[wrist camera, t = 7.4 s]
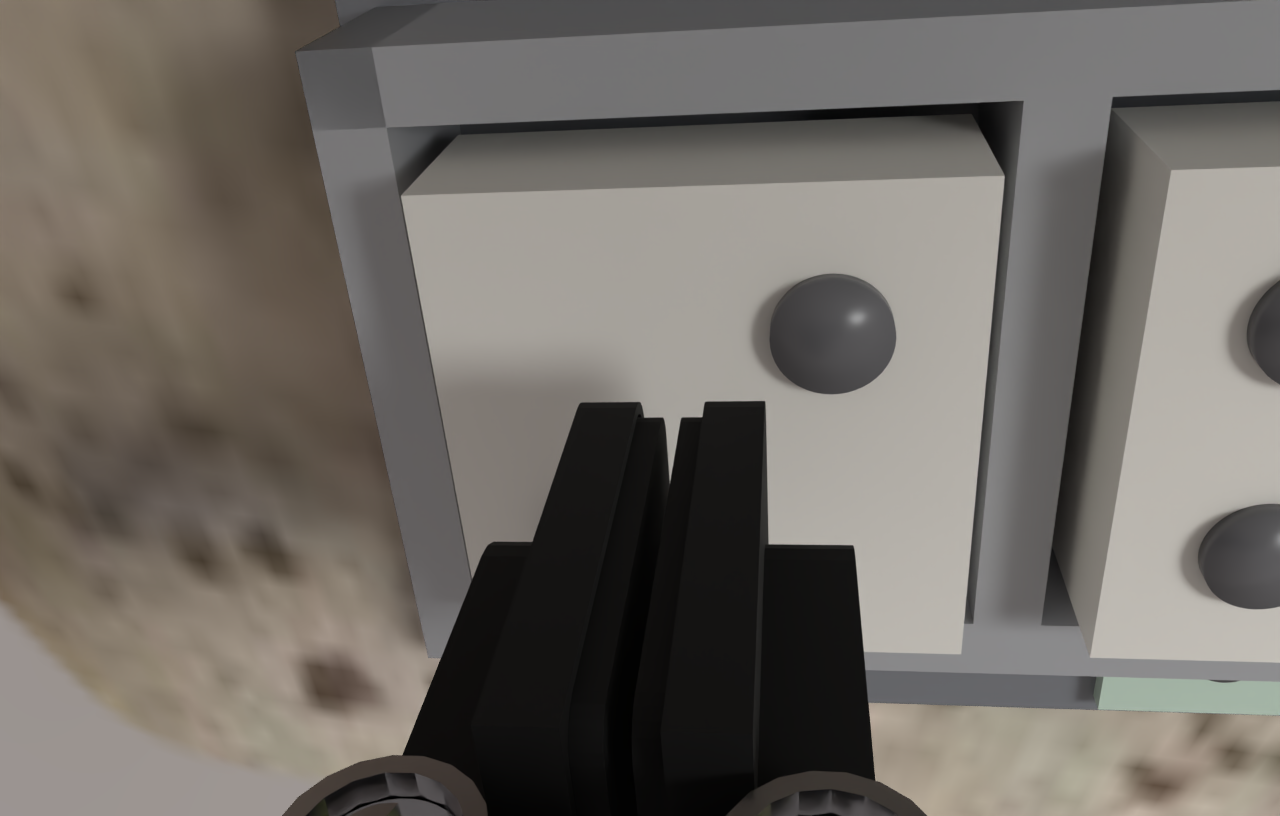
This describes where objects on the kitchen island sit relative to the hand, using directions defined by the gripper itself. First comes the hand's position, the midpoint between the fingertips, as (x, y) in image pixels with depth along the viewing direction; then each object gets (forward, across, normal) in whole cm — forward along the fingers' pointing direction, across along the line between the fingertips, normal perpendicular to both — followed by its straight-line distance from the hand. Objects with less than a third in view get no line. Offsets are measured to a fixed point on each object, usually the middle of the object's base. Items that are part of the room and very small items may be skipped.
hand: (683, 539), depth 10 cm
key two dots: (+4, 0, 0) cm, 4 cm away
